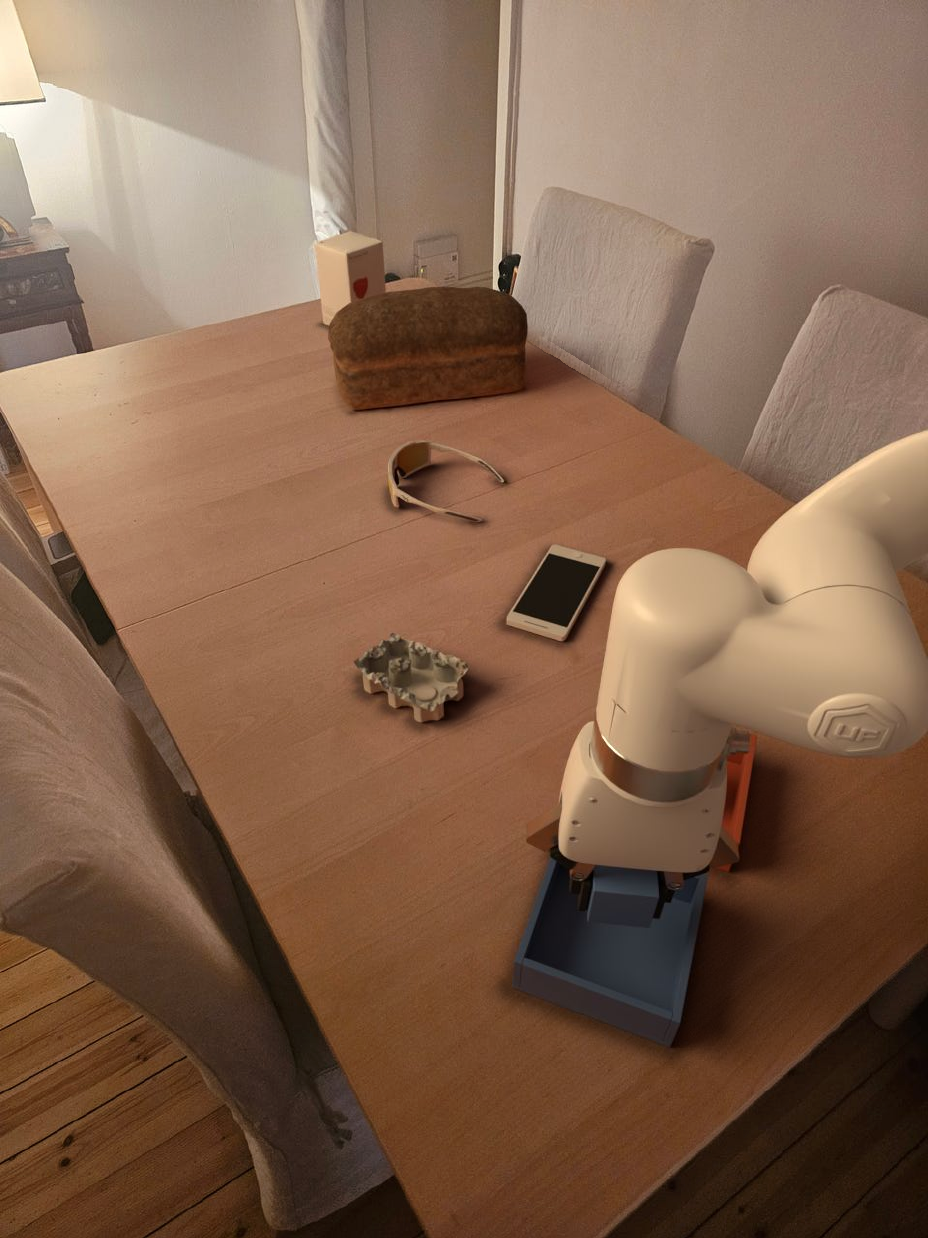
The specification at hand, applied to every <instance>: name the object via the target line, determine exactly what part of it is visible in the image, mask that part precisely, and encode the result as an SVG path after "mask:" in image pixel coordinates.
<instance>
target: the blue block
mask: <svg viewBox="0 0 928 1238" xmlns="http://www.w3.org/2000/svg"><path fill="white" fill-rule="evenodd" d="M658 900H659V883H658V871H656V870H645V869H634V868H624V867H614V866H604V865H596V866H595V867H594V869H593V886H592V891H591V896H590V901H589V906H588V910H587V921H588V922H593V923H603V924H613V925H622V926H632V927H642V928H650V925H651V922H652V919H653V916H654V913H655V909H656V906H657V903H658Z"/></svg>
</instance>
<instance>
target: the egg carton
mask: <svg viewBox="0 0 928 1238" xmlns="http://www.w3.org/2000/svg"><path fill="white" fill-rule="evenodd" d="M353 664H354V666H356V667H357V669H358V670H359V671H360V672H361V673H362V681H363V690H364V691H365V692H367V694H374V693H379V692H385V693H387V700H388V705H389V706H390V707H392V708H393V709H399V708H400V707H407V706H408V707H411V708H412V709H413V718H414V720H415V721H416V722H418V723H424V722H429V721H439V720H441V719H442V718H444V715H445V709H444V703H445V702H447V701H455V702H458V701H460V700H461V699H463V697H464V681H463V679H462V678H463V677H464V675H466V673H467V671H468V670H469V669H470V668H469V667H470V666H469V664H468V663H467V662H466V661H463V659H461V658H459V657H456V656H455V655H454V654H450V653H448V652H447V653H446V654H444V653H442V652H441V651H439V650H438V649H433V648H431V647H428V646H427V645H426V644H424V643H423V642H418V641H415V640H410V639H408V638H403V639H402V637H401V635H400V634H399V633H394V632H392V633H391V634H390V635H389V637H388V638H387V639H386V640H385V639H381V640H380V641H379V643H378V644H377V645H375V646H372V648H370V649H369V650H366V651H365V652H364V654H363V655H362V656H360V657H358V658H356V659H355V660H353Z"/></svg>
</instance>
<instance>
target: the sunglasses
mask: <svg viewBox="0 0 928 1238" xmlns="http://www.w3.org/2000/svg"><path fill="white" fill-rule="evenodd" d="M432 450H434V451H438V452H441V453H453V454H458V455H460V456H462V457H465V458H466V459H468V460H470V461H473V462H476V463H478V464H480V465H481V466H483V467H484V468H486V470H488V471H489V472H490V473H491V474H492V475H493V476H494V477H495V478H496V479H497V480H498V481H499V482H500V483H505V480H504V478H502V476H501V475H500V473H498V472H497V471H496V470H495V468H493V467H492V466H491V465H489V464H488V463H487V462H486V461H485V460H483V459H481V458H480V457H478V456H475V455H472V454H470V453H468V452H465V451H462V450H459V449H458V448H454V447H451V446H448V445H445V444H440V443H437V442H432V441H429V440H427V439H420V440H409V441H406V442H404V443H403V444H401V445H400V446H398V447H397V448H396V449H394V451H392V454H391V455H390V457H389V460H388V463H387V464H388V465H387V470H388V472H387V480H388V491H389V494H390V497H391V502H392V505H393V507H395V508H400V504H399V499H398V498H400V499H402V500H403V501H405V502H406V503H410V504H414V505H417V506H419V507H423V508H426V509H428V510H429V511H432V512H435V513H438V514H443V515H448V516H452V517H456V518H460V519H464V520H467V521H471V522H476V523H480V522H482V521H483V519H482V518H480V517H476V516H473V515H468V514H464V513H462V512H458V511H455V510H451V509H448V508H442V507H437V506H434V505H431V504H428V503H427V502H423V501H422V500H419V499H417V498H415V497H413V496H411V495H409V494H408V493H406V492H404V491H403V490H402V489H400V488H398V486H399V485H400V478H404V479H405V478H407V477H408V476H410V475H411V474H414V473H415V472H417V471H419V470H421V469H423V468H424V467H427V466H429V465H430V464H431V462H432V461H431V460H432Z"/></svg>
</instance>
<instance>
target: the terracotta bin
mask: <svg viewBox="0 0 928 1238" xmlns="http://www.w3.org/2000/svg"><path fill="white" fill-rule="evenodd" d="M736 730H737V731H739V730H738V729H736ZM749 734H750V749H749V752H748V754H744V753H736V754H735V755H730V756H728V757H727V789H726V799H725V807H724V813H723V820H722V826H723V827H724V828H725V829H726V830H727V832H728V833H729V834H730V835H731V836H732V837H733V839H734V840H735V841H736V842H737V846H738V848H739V847H740V844H741V841H742V840H741V839H742V838H741V837H742V833H743V828H744V822H745V814H746V809H747V802H748V795H749V789H750V785H751V783H750V782H751V778H752V777H751V776H752V770H753V764H754V758H755V754H756V753H755V752H756V747H757V740H758V735H757V734H753V733H750V732H749ZM732 865H733V864H729V865H725V866H721V867H717V868H716V869H717V870H721V871H724V872H727V873H729V872H730V869H731V867H732Z"/></svg>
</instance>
